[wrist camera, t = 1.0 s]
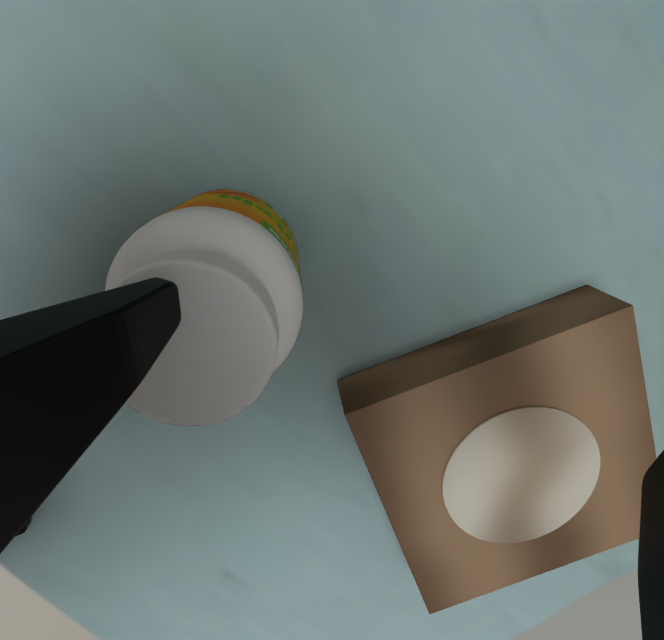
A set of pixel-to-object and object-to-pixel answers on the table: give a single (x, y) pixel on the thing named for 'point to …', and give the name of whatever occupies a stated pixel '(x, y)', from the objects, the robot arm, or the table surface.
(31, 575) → the table surface
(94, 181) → the table surface
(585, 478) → the walnut base
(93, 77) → the table surface
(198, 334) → the supplement bottle
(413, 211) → the table surface
